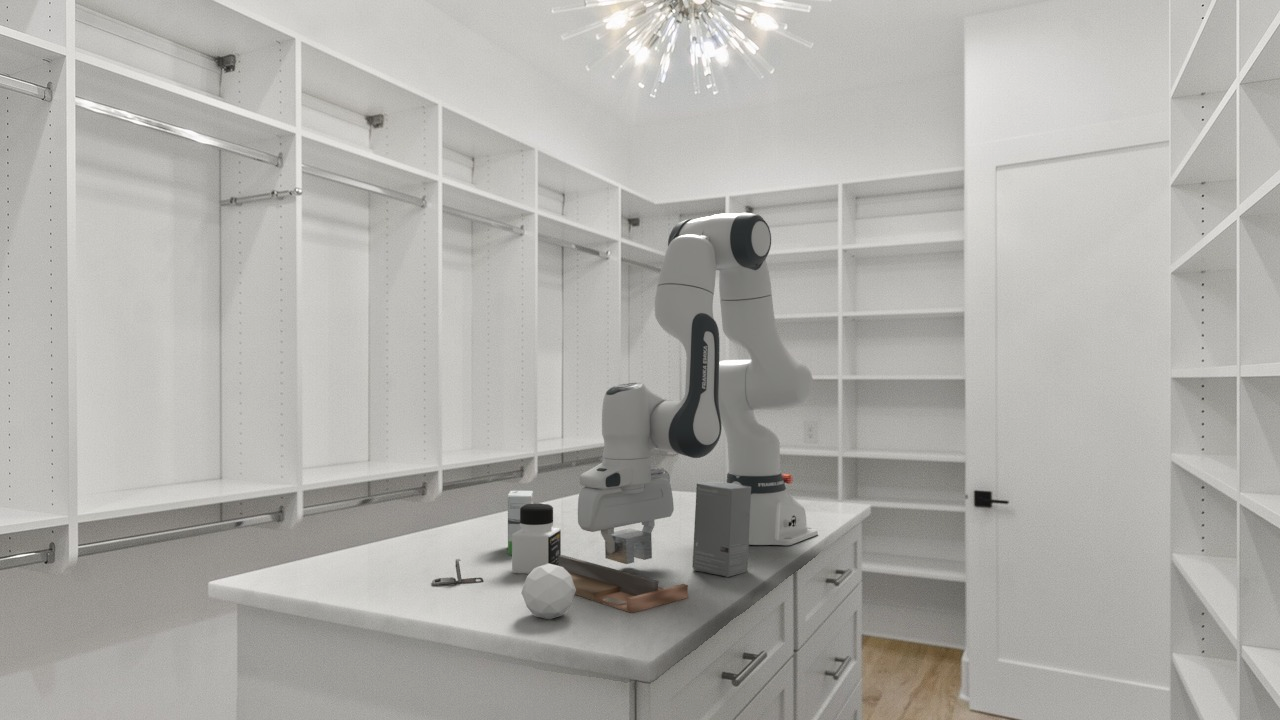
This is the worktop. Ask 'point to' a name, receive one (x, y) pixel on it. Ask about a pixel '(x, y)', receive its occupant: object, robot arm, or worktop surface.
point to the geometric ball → (548, 591)
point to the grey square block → (631, 546)
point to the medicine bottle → (535, 539)
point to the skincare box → (721, 528)
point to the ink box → (516, 512)
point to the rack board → (618, 586)
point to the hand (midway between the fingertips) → (628, 548)
